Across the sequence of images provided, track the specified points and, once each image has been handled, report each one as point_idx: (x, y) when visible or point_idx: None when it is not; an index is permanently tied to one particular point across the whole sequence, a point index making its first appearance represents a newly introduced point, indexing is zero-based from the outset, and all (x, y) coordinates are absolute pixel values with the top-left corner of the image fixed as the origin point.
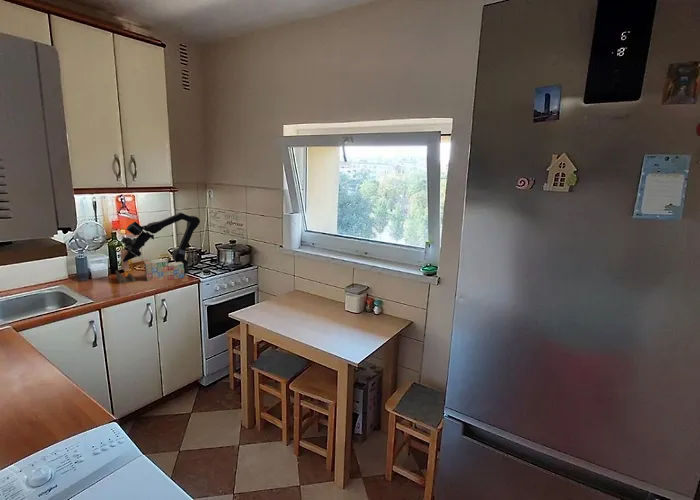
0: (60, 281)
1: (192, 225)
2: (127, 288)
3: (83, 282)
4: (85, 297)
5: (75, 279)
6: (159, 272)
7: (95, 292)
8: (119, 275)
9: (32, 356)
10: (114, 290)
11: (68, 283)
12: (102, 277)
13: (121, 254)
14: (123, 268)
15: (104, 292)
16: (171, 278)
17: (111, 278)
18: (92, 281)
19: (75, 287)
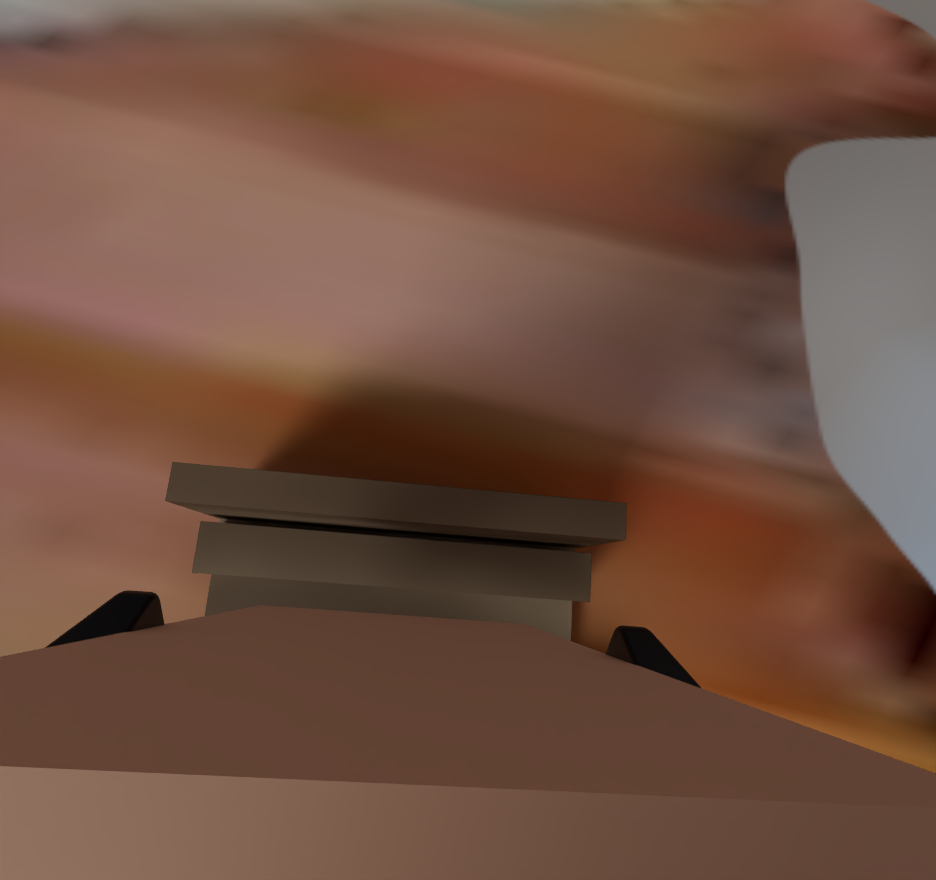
0: (868, 2)
1: None
2: None
3: (694, 161)
4: (17, 16)
5: (875, 129)
6: None
7: (141, 149)
8: (184, 465)
9: None
10: (36, 354)
11: (742, 37)
12: (809, 396)
13: (529, 687)
14: (373, 615)
15: (48, 229)
16: None
17: (693, 483)
18: (680, 249)
19: (529, 47)
